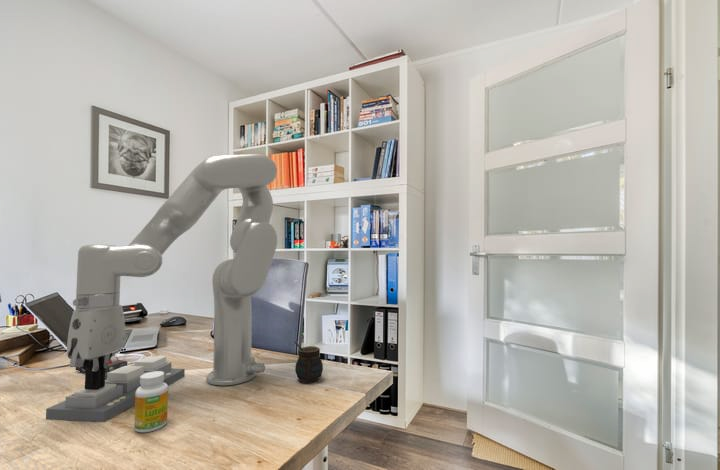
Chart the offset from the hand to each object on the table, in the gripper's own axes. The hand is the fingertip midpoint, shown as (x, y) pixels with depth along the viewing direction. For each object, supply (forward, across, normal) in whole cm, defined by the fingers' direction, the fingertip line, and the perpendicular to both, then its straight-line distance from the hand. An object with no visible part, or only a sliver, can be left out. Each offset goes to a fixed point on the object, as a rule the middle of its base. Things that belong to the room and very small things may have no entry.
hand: (94, 388), depth 71 cm
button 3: (+2, 0, 0) cm, 2 cm away
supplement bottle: (+5, -5, -17) cm, 18 cm away
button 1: (+1, +16, 0) cm, 16 cm away
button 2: (+1, +8, 0) cm, 8 cm away
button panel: (+5, +8, 0) cm, 9 cm away
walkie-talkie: (+5, +21, +17) cm, 28 cm away
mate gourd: (+5, +21, -41) cm, 46 cm away
